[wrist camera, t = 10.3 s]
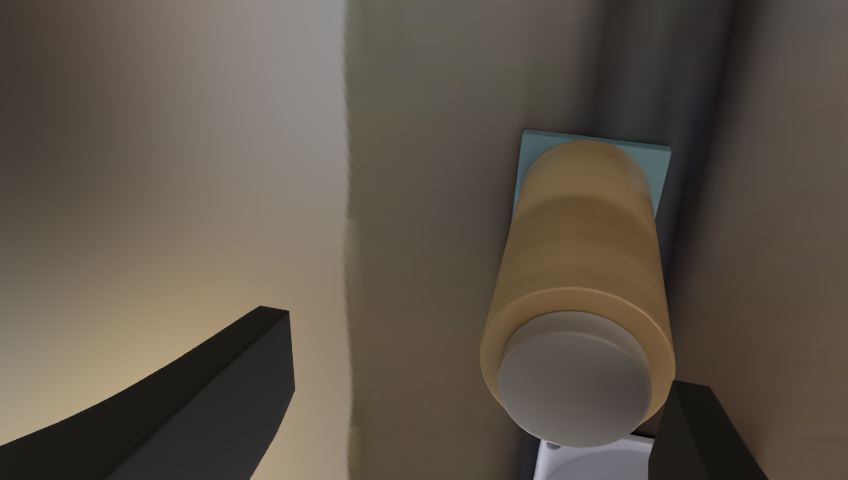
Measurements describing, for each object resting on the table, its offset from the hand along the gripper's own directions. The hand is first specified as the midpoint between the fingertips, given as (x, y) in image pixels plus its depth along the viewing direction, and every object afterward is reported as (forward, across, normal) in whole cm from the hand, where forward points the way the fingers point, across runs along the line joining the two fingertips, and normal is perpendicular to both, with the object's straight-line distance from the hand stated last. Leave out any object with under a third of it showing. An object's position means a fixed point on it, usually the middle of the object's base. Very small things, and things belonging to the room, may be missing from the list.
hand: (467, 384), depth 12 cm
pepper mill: (+10, -2, +1) cm, 10 cm away
